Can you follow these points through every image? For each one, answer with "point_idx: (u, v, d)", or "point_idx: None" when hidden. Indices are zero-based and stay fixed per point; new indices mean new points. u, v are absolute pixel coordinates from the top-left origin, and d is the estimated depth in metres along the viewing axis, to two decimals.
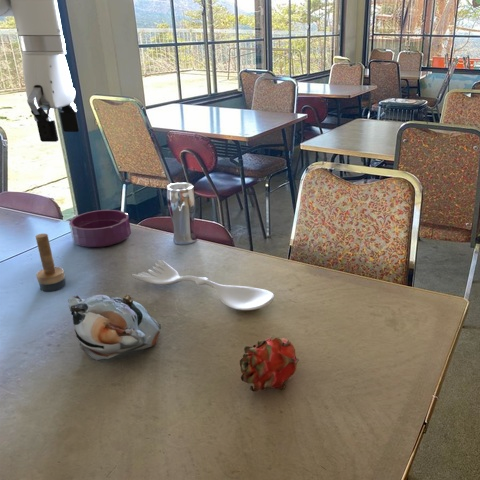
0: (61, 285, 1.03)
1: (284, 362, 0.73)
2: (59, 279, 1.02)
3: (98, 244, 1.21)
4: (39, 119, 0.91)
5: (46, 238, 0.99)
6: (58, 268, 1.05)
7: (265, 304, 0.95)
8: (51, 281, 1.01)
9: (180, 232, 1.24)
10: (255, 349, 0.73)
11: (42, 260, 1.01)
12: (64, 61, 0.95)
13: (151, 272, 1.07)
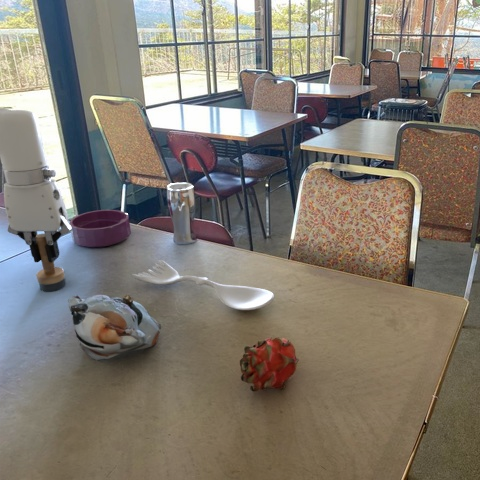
0: (61, 285, 1.03)
1: (284, 362, 0.73)
2: (59, 279, 1.02)
3: (98, 244, 1.21)
4: None
5: None
6: (58, 268, 1.05)
7: (265, 304, 0.95)
8: (51, 281, 1.01)
9: (180, 232, 1.24)
10: (255, 349, 0.73)
11: (42, 260, 1.01)
12: (37, 193, 0.93)
13: (151, 272, 1.07)
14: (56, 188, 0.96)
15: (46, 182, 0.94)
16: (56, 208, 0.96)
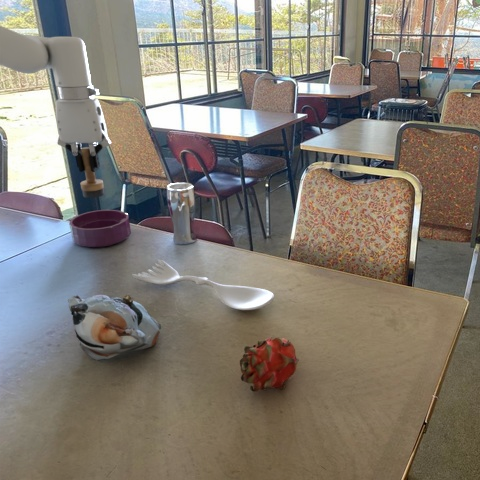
0: (101, 193, 1.21)
1: (284, 362, 0.73)
2: (99, 187, 1.20)
3: (98, 244, 1.21)
4: None
5: (89, 150, 1.17)
6: (98, 179, 1.22)
7: (265, 304, 0.95)
8: (93, 188, 1.19)
9: (180, 232, 1.24)
10: (255, 349, 0.73)
11: (85, 170, 1.19)
12: (84, 108, 1.11)
13: (151, 272, 1.07)
14: (99, 105, 1.14)
15: (91, 99, 1.12)
16: (99, 122, 1.14)
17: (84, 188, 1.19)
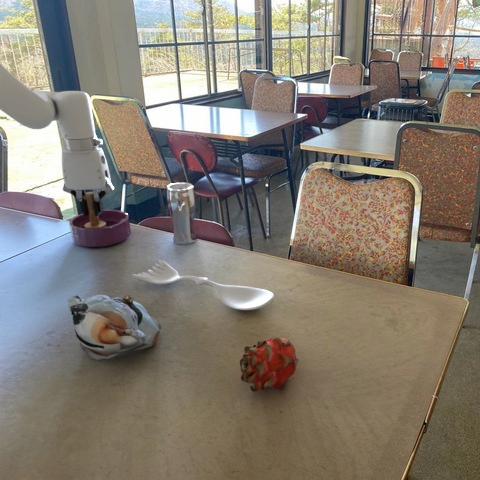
0: None
1: (284, 362, 0.73)
2: None
3: (98, 244, 1.21)
4: None
5: (93, 195, 1.22)
6: (101, 221, 1.28)
7: (265, 304, 0.95)
8: None
9: (180, 232, 1.24)
10: (255, 349, 0.73)
11: (89, 213, 1.24)
12: (89, 158, 1.17)
13: (151, 272, 1.07)
14: (103, 154, 1.19)
15: (95, 149, 1.18)
16: (103, 170, 1.19)
17: None
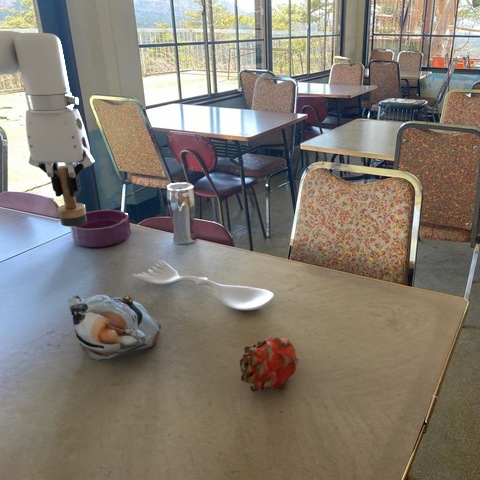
0: (82, 220, 1.01)
1: (284, 362, 0.73)
2: (80, 214, 1.00)
3: (98, 244, 1.21)
4: None
5: (67, 170, 0.97)
6: (79, 204, 1.02)
7: (265, 304, 0.95)
8: (72, 215, 0.99)
9: (180, 232, 1.24)
10: (255, 349, 0.73)
11: (63, 193, 0.98)
12: (60, 120, 0.91)
13: (151, 272, 1.07)
14: (79, 117, 0.94)
15: (69, 109, 0.92)
16: (79, 137, 0.93)
17: (61, 215, 0.99)
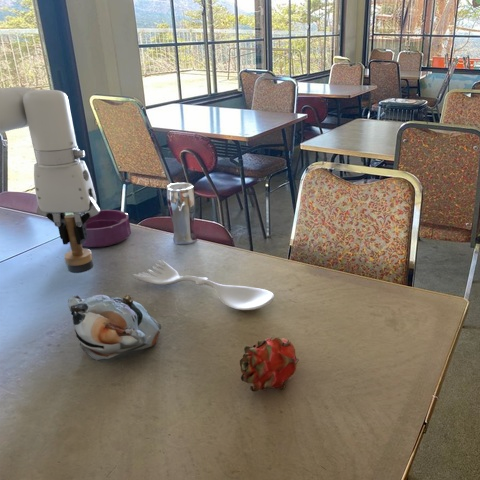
0: (88, 267, 1.03)
1: (284, 362, 0.73)
2: (87, 261, 1.02)
3: (98, 244, 1.21)
4: None
5: (74, 219, 0.99)
6: (86, 250, 1.04)
7: (265, 304, 0.95)
8: (79, 262, 1.01)
9: (180, 232, 1.24)
10: (255, 349, 0.73)
11: (70, 241, 1.00)
12: (67, 173, 0.93)
13: (151, 272, 1.07)
14: (85, 169, 0.96)
15: (76, 162, 0.94)
16: (86, 189, 0.96)
17: (68, 262, 1.01)
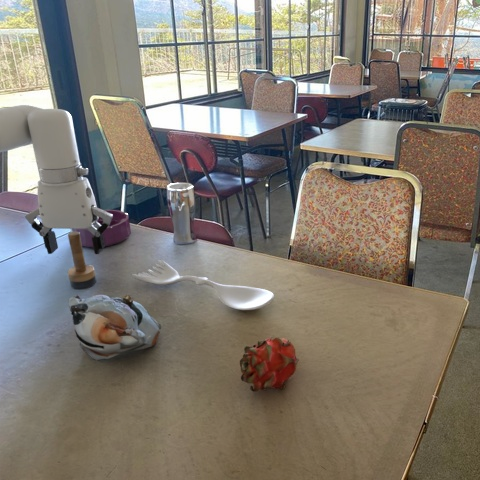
0: (91, 283, 1.04)
1: (284, 362, 0.73)
2: (89, 277, 1.04)
3: None
4: None
5: (78, 236, 1.01)
6: (89, 266, 1.06)
7: (265, 304, 0.95)
8: (82, 279, 1.03)
9: (180, 232, 1.24)
10: (255, 349, 0.73)
11: (74, 258, 1.02)
12: (71, 191, 0.95)
13: (151, 272, 1.07)
14: (88, 186, 0.97)
15: (79, 180, 0.95)
16: (88, 206, 0.97)
17: (72, 278, 1.02)
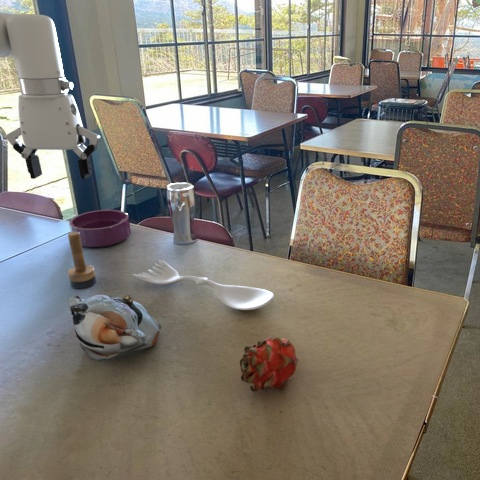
0: (91, 283, 1.04)
1: (284, 362, 0.73)
2: (89, 277, 1.04)
3: (98, 244, 1.21)
4: None
5: (78, 236, 1.01)
6: (89, 266, 1.06)
7: (265, 304, 0.95)
8: (82, 279, 1.03)
9: (180, 232, 1.24)
10: (255, 349, 0.73)
11: (74, 258, 1.02)
12: (54, 105, 0.88)
13: (151, 272, 1.07)
14: (73, 103, 0.91)
15: (63, 95, 0.89)
16: (73, 124, 0.90)
17: (72, 278, 1.02)
